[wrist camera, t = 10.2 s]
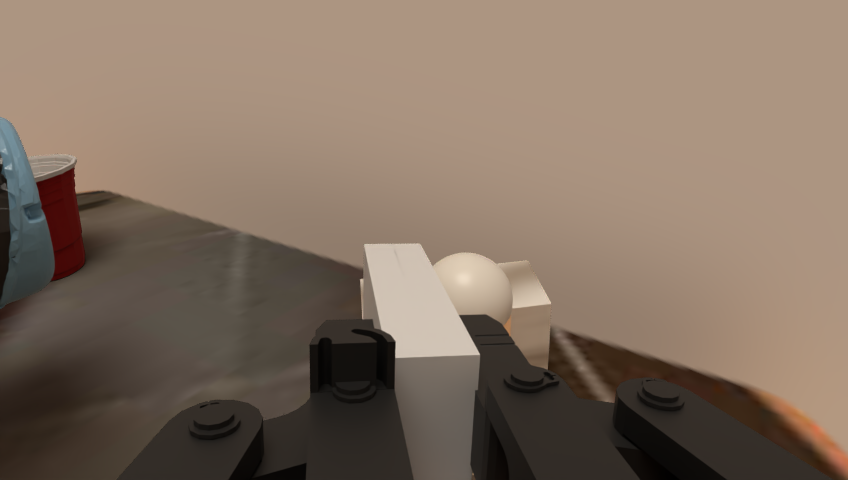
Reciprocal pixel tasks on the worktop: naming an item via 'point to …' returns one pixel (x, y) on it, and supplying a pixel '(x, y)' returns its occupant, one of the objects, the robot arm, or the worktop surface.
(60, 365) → the worktop surface
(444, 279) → the plunger knob
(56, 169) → the plastic cup
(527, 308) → the knob mount
